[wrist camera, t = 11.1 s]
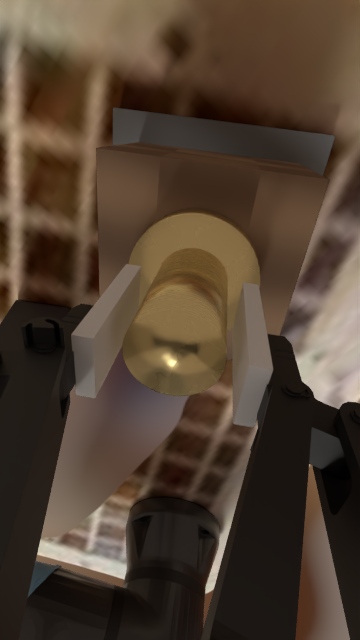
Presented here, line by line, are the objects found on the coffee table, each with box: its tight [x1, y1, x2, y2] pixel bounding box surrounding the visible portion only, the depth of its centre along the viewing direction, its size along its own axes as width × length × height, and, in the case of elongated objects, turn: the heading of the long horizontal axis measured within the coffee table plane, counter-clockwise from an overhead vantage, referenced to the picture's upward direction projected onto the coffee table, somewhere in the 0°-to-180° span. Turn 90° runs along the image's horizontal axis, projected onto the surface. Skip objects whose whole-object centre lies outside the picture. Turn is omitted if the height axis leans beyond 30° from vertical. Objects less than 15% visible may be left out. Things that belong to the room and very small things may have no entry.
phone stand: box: [0, 300, 71, 351], centre depth 32 cm, size 9×6×12 cm, turn 175°
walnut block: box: [96, 108, 335, 360], centre depth 24 cm, size 16×16×10 cm
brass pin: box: [122, 208, 260, 396], centre depth 19 cm, size 8×8×16 cm
